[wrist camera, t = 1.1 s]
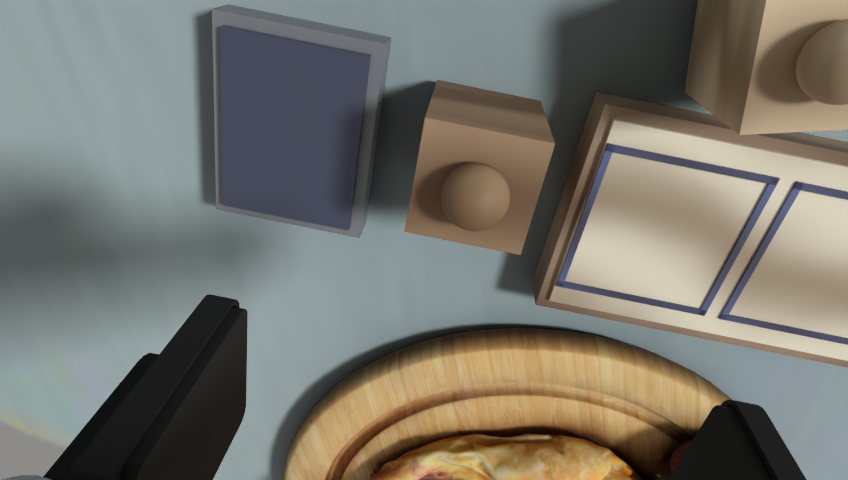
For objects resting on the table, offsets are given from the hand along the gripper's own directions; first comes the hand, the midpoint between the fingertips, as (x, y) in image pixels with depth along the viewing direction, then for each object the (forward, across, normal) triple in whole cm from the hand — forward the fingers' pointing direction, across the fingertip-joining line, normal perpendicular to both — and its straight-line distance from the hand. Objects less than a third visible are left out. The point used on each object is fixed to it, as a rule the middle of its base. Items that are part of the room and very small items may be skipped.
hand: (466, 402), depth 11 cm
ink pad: (+16, +8, +1) cm, 18 cm away
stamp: (+16, 0, 0) cm, 16 cm away
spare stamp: (+16, -10, -7) cm, 20 cm away
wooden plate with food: (+17, -8, +25) cm, 31 cm away
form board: (+16, -12, +2) cm, 20 cm away
